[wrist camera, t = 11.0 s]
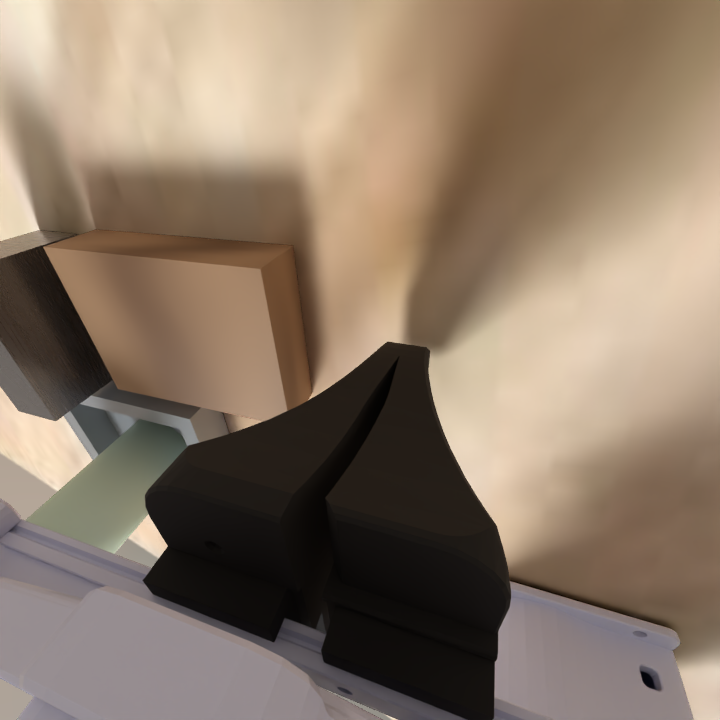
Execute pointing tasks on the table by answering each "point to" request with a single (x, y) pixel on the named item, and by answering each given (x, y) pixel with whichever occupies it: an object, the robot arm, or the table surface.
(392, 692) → the robot arm
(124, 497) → the sage dowel
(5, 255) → the post
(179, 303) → the tan rectangular block
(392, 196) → the table surface
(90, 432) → the slate tray
